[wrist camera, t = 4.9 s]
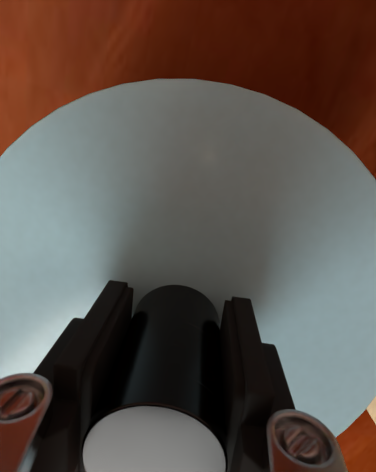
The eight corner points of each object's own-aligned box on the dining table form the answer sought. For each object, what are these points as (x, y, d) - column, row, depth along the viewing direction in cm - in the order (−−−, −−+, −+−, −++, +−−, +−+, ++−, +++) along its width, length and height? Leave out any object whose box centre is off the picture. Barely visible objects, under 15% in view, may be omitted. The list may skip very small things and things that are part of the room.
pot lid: (255, -33, 9) (343, -335, 3) (456, 363, 12) (680, 573, 6) (-103, 244, 12) (-392, 349, 6) (134, 500, 15) (91, 724, 9)
